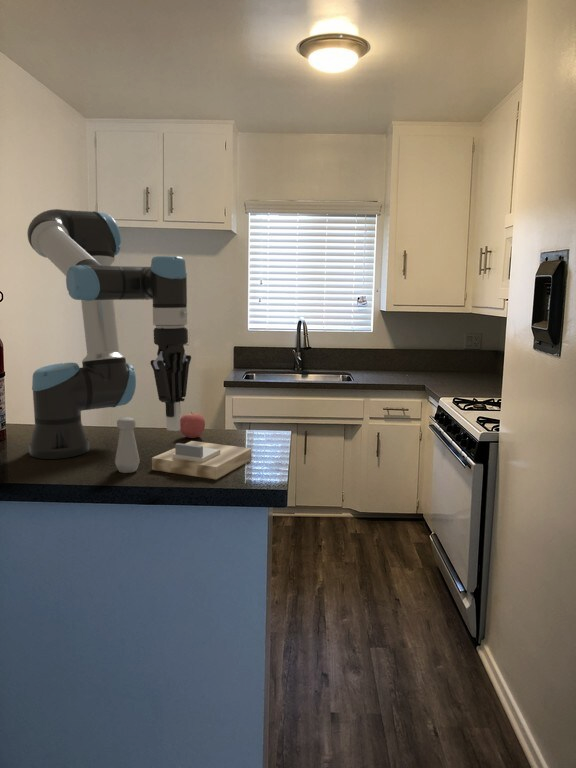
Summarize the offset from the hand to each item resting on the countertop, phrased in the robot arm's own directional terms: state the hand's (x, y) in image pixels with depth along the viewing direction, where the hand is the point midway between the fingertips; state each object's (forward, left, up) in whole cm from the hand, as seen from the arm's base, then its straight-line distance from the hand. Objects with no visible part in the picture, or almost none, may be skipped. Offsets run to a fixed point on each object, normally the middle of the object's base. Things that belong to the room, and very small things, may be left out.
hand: (173, 429), depth 143 cm
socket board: (0, +13, -12) cm, 18 cm away
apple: (-17, +35, -12) cm, 41 cm away
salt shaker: (-14, +1, -12) cm, 19 cm away
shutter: (0, +10, -9) cm, 14 cm away
